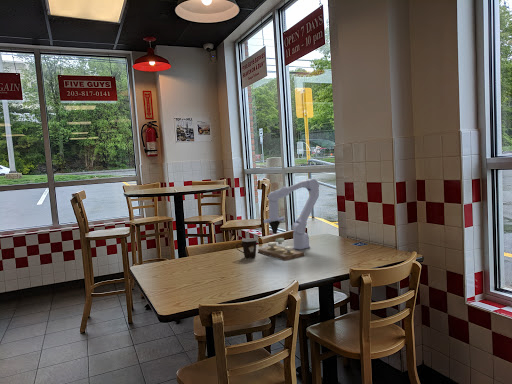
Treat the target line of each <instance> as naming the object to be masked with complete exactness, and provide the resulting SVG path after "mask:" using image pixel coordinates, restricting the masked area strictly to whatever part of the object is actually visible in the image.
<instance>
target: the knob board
mask: <svg viewBox="0 0 512 384" xmlns="http://www.w3.org/2000/svg"><path fill="white" fill-rule="evenodd" d="M284 247H285V246H280V245H277V244H276V246H274V248H271V246H267V247H262V248H258V249H257V251H258V253H260V254H263V255H265V256H270V257H273V258H276V259H280V260H283V261H288V260H292V259H295V258H296V257H297V258H300V256H301V257H304V256H305V251H301V250H298V249H293V250H291V252H290V253H287V251H286V250H284Z"/></svg>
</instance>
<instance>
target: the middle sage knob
mask: <svg viewBox="0 0 512 384" xmlns="http://www.w3.org/2000/svg"><path fill="white" fill-rule="evenodd" d="M275 242H276V243H278V245H282V243H284V242H285V238H284V237H278V238H277V237H276V238H275Z"/></svg>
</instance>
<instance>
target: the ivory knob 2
mask: <svg viewBox="0 0 512 384" xmlns="http://www.w3.org/2000/svg"><path fill="white" fill-rule="evenodd" d="M283 247H284V250H286V251H287V253H290V252H291V250H294V248H293V245H290V246H289V245H287V246H286V245H285V246H283Z"/></svg>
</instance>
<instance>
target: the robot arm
mask: <svg viewBox="0 0 512 384" xmlns="http://www.w3.org/2000/svg"><path fill="white" fill-rule="evenodd" d="M319 187H320V184H319V182H318V181H317V179H315V178H307V179H303V180H300V181H298V182H297V183H294V184H292V185H290V186H281V187H280V188H279V189H275V190H274V191H270V192H269V193H268V195H267V199H268V211H269V212H268V213H269V214H268V215H269V218H266V219H263V224H268V225H270V228H271V231H272V234H275V235H276V234H277V233H278V229H279V226H280V224H281V221H285V217H283V216H281V217H280V215H279V200H280V199H283V198H285V197H287V196H289V195H290V193H291V192H294V191H296V190H298V189H302V188H303V189H304V188H305V189H306V190H307V191H308V194H309V196H308V197H307V200H306V202H305V204H304V206H303V208H302V210H301V213H300V214H299V217H298V218H296V220H295V222H293V223H292V225H291V230H292V231H293V232H292V235H293V236H292V237H293V238H292V239H293V245H292V247H293V250H297V251H300V250H304V249H308V248H311V246H310V236H309V234H308V233H307V232H306V229H307V224H308V223H307V221H308V219H309V217H310V215H311V213H312V211H313V209H314V206H315V205H316V203H317V200H318V199H319V196H320V190H319V189H320V188H319Z"/></svg>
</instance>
